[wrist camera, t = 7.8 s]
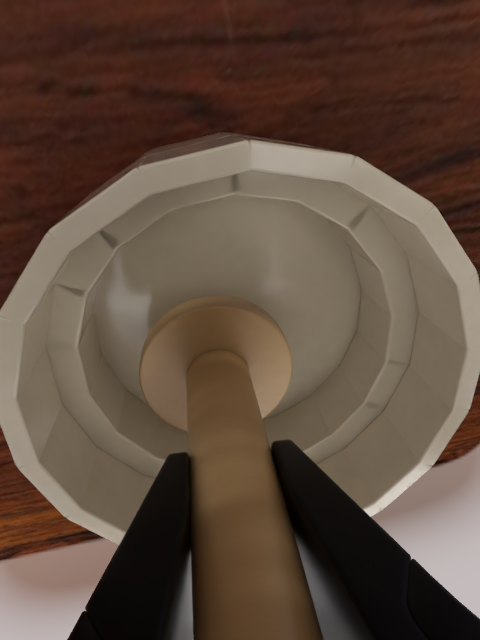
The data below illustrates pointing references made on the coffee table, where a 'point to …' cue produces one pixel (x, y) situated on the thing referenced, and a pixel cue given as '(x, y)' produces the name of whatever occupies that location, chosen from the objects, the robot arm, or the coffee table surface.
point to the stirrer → (231, 466)
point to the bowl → (254, 286)
